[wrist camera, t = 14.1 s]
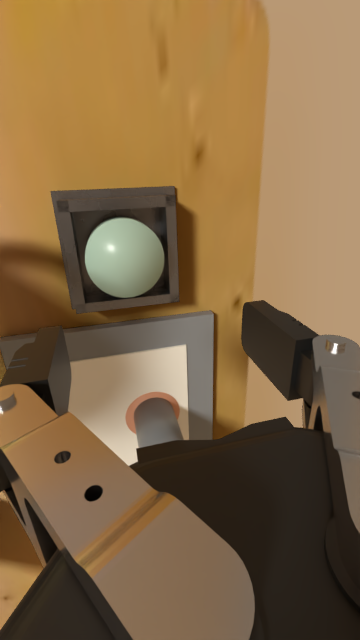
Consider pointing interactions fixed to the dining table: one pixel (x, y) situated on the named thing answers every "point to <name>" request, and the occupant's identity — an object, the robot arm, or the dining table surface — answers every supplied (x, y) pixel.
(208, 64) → the dining table surface
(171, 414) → the grey cylindrical piece
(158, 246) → the button
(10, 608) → the dining table surface
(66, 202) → the button housing
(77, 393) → the drawing board
